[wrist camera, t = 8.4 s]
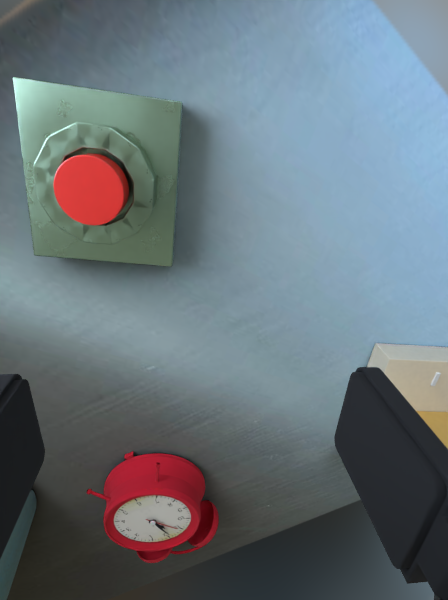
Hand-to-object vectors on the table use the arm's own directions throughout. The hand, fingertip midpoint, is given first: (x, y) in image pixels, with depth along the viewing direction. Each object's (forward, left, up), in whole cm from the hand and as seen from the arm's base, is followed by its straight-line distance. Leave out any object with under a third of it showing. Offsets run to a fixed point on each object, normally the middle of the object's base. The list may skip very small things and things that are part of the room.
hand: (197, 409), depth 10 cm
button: (-4, -6, -13) cm, 15 cm away
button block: (-4, -6, -17) cm, 18 cm away
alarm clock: (+28, -1, -17) cm, 33 cm away
